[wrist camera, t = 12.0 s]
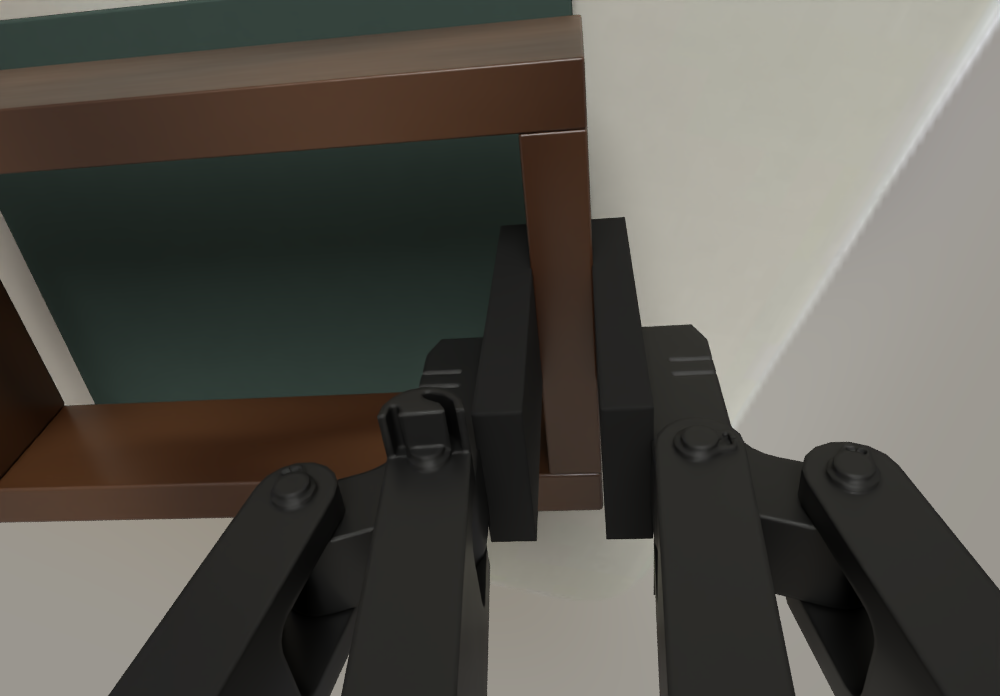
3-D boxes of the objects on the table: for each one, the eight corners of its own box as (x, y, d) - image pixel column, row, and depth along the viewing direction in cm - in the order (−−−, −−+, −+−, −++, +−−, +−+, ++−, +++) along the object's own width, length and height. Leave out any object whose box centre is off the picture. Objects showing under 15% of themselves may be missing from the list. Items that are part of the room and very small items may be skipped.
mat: (591, 389, 24) (591, 397, 24) (106, 409, 26) (100, 417, 25) (569, -41, 17) (569, -39, 17) (-77, 28, 19) (-89, 31, 19)
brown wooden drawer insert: (581, 13, 16) (584, 57, 13) (598, 418, 21) (603, 511, 18) (-150, 84, 18) (-292, 134, 15) (46, 437, 23) (-28, 524, 20)
